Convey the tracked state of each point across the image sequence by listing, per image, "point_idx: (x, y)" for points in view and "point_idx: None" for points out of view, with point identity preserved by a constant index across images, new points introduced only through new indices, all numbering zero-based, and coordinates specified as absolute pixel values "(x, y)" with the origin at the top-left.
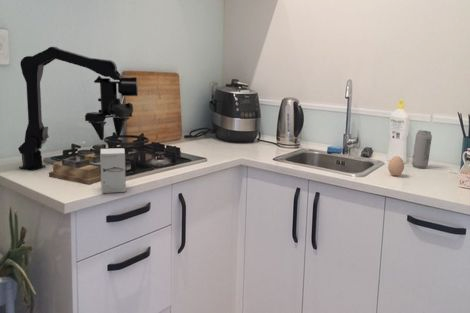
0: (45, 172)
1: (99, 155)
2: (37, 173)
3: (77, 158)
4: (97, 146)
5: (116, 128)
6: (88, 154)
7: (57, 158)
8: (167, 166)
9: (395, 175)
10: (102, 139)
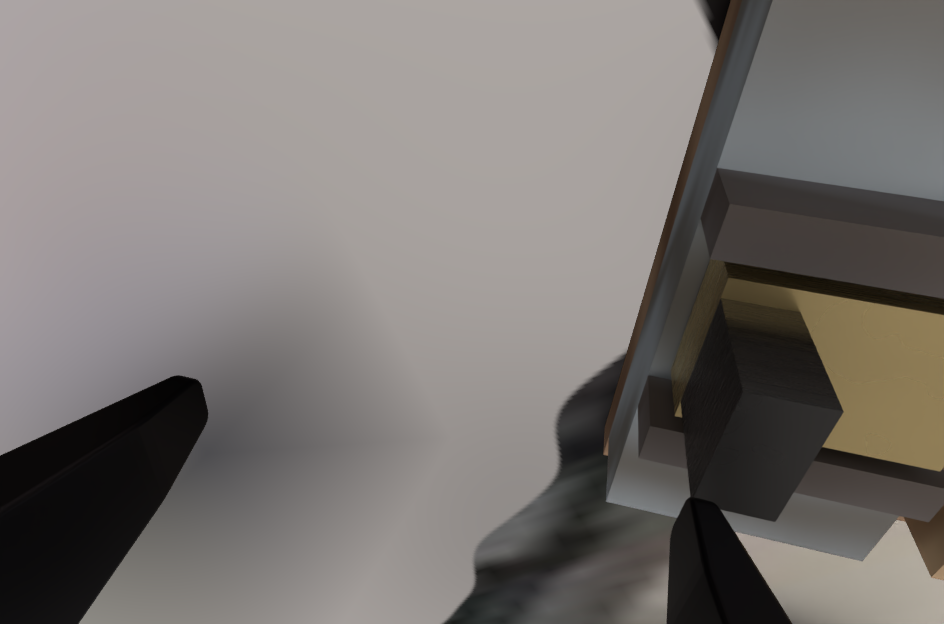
0: (884, 576)
1: (929, 288)
2: (927, 605)
3: (793, 511)
4: (803, 457)
5: (83, 569)
6: (854, 451)
7: (477, 621)
8: None
9: None
10: (723, 514)
